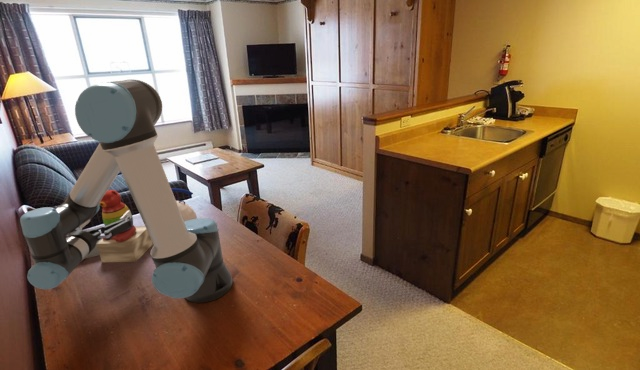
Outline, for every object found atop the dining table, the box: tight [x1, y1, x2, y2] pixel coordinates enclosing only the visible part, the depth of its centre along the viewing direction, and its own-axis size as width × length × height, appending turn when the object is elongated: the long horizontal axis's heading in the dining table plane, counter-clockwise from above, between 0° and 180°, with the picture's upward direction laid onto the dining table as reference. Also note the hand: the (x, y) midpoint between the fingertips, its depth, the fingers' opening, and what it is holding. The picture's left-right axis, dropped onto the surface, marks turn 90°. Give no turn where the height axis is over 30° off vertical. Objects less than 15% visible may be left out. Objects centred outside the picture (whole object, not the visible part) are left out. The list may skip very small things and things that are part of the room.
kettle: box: [171, 187, 198, 222], centre depth 147 cm, size 20×21×18 cm
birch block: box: [96, 225, 154, 263], centre depth 130 cm, size 13×13×8 cm
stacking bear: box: [100, 189, 136, 242], centre depth 124 cm, size 11×10×18 cm
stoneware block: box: [83, 230, 103, 260], centre depth 132 cm, size 9×9×6 cm
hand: (109, 215), depth 117 cm, fingers open, 13 cm apart
